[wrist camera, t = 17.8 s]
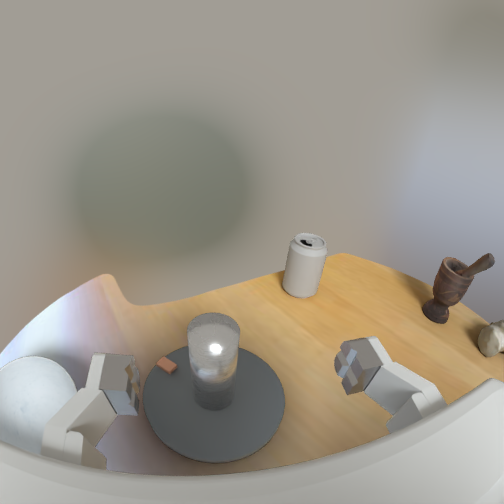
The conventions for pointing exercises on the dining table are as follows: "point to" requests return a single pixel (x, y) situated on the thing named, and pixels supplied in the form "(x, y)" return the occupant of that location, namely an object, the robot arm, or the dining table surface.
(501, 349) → the ceramic sculpture
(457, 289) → the mortar and pestle
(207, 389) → the clear drinking glass
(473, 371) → the dining table surface
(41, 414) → the chinaware
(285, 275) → the can
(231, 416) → the disc
